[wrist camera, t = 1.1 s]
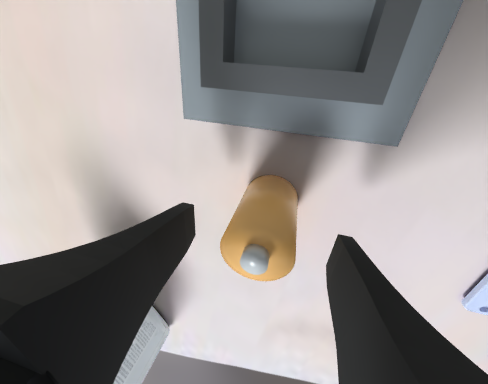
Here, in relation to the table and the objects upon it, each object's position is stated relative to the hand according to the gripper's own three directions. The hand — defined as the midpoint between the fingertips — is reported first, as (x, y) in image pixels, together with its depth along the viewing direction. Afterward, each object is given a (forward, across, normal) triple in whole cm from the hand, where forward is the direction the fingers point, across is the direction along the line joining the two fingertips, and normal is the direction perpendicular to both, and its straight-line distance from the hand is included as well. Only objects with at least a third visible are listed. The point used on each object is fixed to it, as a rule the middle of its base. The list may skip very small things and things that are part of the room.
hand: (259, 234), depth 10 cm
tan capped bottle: (+4, 0, 0) cm, 4 cm away
